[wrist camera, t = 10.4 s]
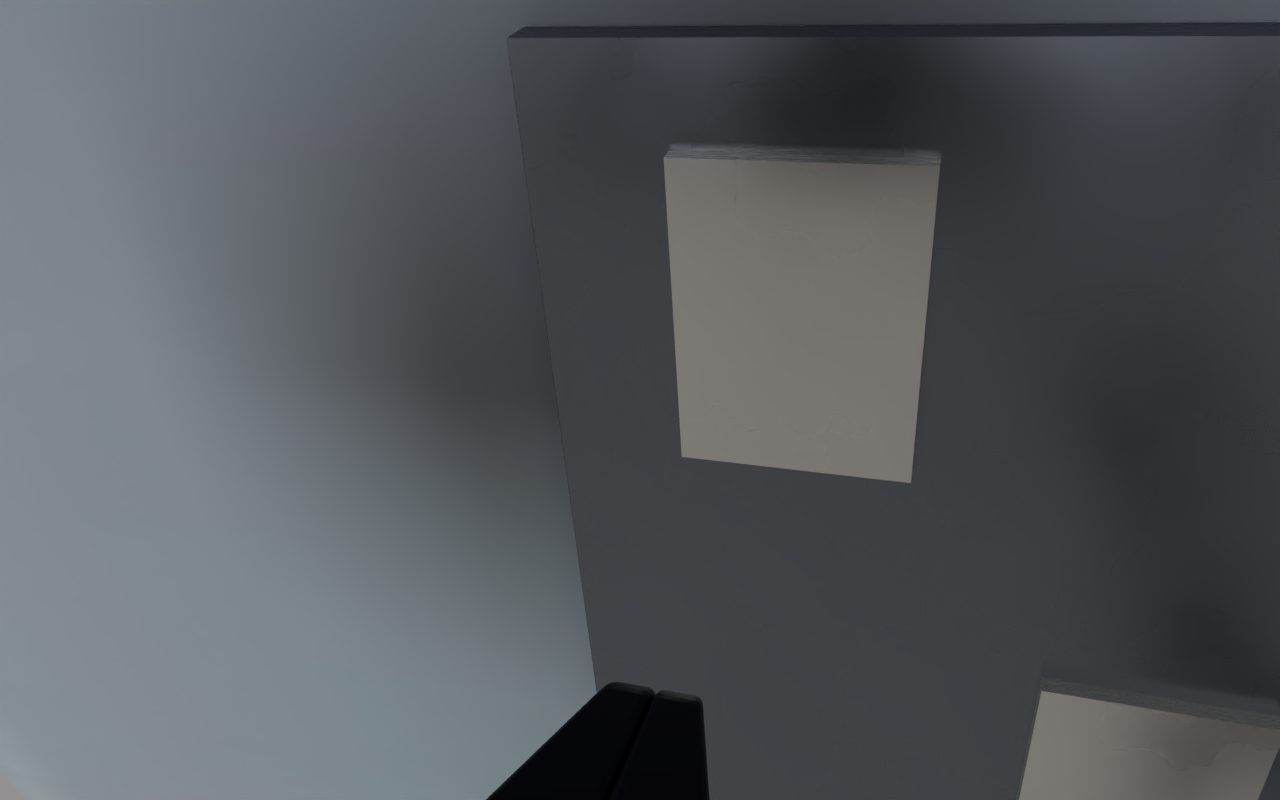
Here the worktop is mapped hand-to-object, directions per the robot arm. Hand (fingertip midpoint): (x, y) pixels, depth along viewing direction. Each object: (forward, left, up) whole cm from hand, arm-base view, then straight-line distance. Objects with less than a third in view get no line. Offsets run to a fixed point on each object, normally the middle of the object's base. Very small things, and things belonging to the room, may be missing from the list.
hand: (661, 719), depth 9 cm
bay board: (-5, -3, -8) cm, 10 cm away
